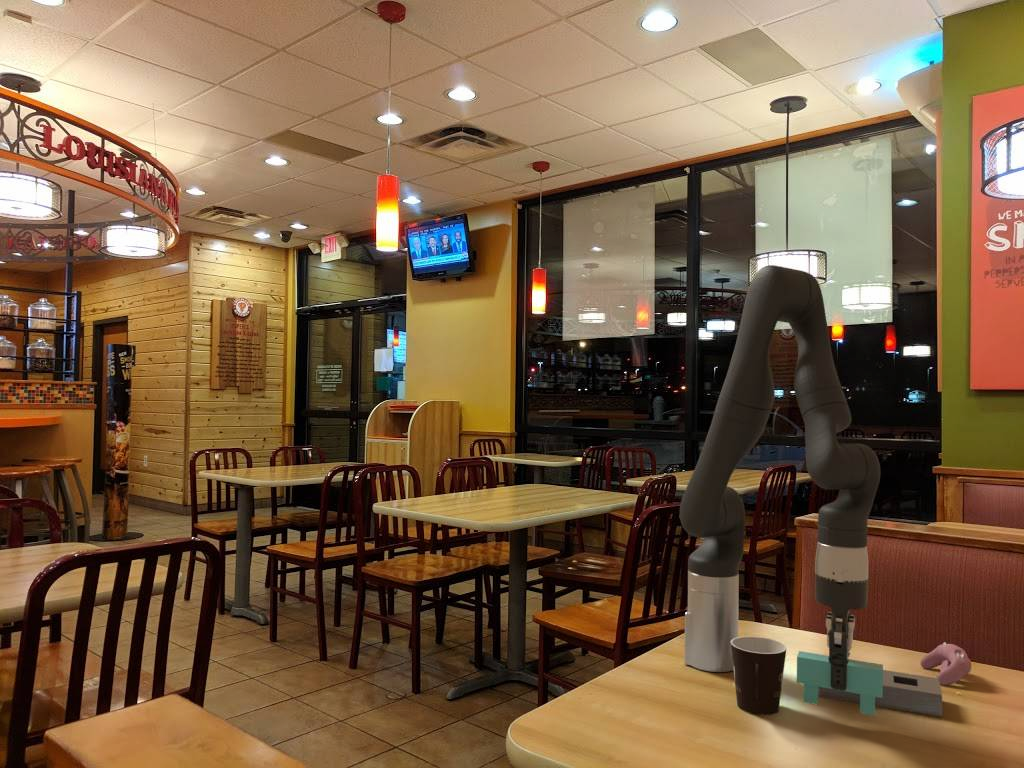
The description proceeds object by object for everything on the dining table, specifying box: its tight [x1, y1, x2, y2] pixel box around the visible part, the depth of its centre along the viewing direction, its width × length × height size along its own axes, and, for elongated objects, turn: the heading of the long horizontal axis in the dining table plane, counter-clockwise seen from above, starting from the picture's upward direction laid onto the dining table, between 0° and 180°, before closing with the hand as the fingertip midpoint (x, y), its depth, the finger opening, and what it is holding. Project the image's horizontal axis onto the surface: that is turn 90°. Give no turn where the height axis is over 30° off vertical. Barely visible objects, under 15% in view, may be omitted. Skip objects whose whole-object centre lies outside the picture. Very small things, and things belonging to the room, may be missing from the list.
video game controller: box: [920, 641, 972, 686], centre depth 135 cm, size 10×5×7 cm, turn 169°
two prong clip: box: [796, 650, 884, 716], centre depth 115 cm, size 12×3×7 cm, turn 63°
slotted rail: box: [818, 669, 943, 718], centre depth 125 cm, size 18×8×4 cm, turn 64°
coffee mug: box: [731, 635, 787, 716], centre depth 120 cm, size 12×9×10 cm
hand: (839, 684), depth 115 cm, fingers closed on two prong clip, 3 cm apart
